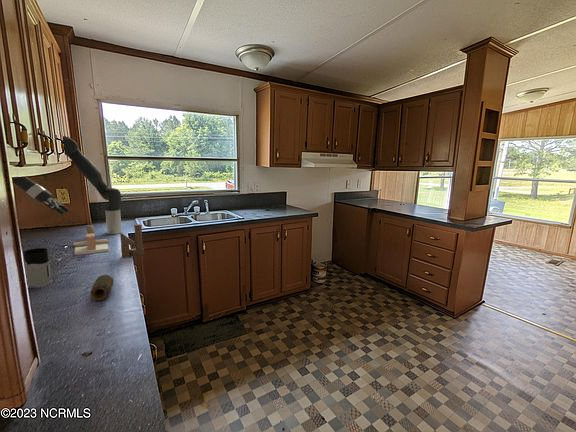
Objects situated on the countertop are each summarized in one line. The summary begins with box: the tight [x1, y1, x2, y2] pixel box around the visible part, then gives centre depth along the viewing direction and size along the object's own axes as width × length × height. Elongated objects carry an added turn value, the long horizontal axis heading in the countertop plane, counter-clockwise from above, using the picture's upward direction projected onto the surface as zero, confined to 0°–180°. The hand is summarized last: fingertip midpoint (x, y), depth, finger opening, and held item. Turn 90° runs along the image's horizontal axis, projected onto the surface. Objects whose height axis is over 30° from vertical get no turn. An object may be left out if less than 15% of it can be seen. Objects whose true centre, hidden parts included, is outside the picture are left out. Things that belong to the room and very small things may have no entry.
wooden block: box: [119, 223, 145, 259], centre depth 156 cm, size 4×11×18 cm, turn 129°
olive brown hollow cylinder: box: [90, 274, 114, 301], centre depth 111 cm, size 15×7×7 cm, turn 30°
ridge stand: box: [74, 232, 109, 256], centre depth 163 cm, size 11×16×10 cm
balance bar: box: [73, 225, 110, 247], centre depth 176 cm, size 5×18×12 cm, turn 126°
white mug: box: [22, 247, 67, 289], centre depth 118 cm, size 9×14×15 cm, turn 118°
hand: (65, 212), depth 168 cm, fingers open, 8 cm apart
